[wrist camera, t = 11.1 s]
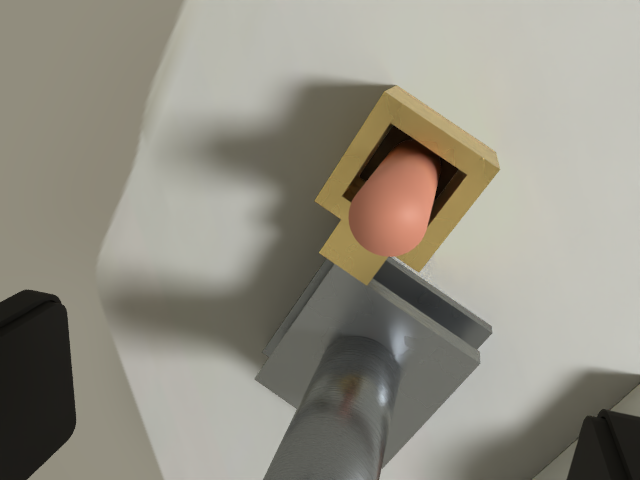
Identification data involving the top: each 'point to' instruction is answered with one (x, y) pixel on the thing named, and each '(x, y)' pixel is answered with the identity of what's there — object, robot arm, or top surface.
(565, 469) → the pipe rack
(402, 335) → the yellow and grey fixture
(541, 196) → the top surface
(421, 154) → the pin
